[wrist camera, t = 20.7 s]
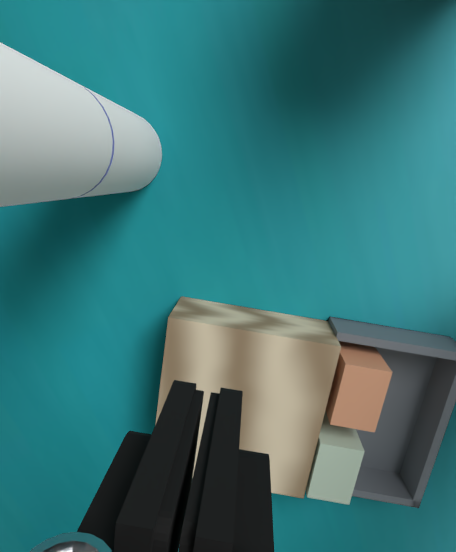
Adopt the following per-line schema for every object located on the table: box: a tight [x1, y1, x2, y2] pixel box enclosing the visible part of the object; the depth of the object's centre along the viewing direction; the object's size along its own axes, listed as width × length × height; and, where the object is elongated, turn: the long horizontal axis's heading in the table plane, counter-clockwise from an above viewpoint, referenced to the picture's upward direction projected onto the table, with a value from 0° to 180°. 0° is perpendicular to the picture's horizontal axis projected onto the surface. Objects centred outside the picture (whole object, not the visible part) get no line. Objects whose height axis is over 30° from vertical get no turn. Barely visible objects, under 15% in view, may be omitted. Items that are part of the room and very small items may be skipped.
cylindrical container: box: [0, 43, 162, 207], centre depth 24 cm, size 7×7×25 cm
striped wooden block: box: [155, 297, 341, 498], centre depth 38 cm, size 15×16×6 cm
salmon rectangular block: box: [326, 341, 393, 432], centre depth 36 cm, size 6×6×4 cm
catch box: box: [329, 317, 456, 508], centre depth 39 cm, size 12×17×4 cm
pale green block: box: [306, 410, 365, 505], centre depth 38 cm, size 6×6×4 cm
